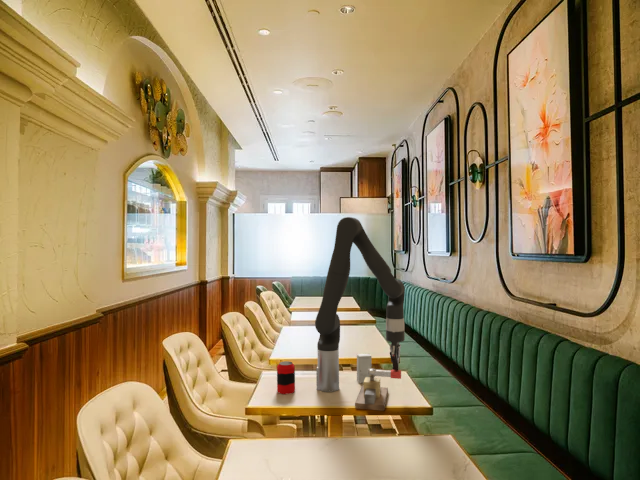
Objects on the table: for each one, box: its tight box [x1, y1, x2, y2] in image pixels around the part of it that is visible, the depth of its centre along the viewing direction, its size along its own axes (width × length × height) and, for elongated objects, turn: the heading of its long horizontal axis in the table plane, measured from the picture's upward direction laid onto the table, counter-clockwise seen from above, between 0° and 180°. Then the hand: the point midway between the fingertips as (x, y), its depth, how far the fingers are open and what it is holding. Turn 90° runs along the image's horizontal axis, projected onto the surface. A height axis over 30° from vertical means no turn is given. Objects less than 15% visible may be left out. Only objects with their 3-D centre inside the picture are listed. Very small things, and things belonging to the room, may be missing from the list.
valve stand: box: [354, 377, 389, 411], centre depth 167 cm, size 11×19×10 cm, turn 166°
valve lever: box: [368, 367, 402, 380], centre depth 166 cm, size 13×3×3 cm, turn 76°
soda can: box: [276, 361, 296, 395], centre depth 177 cm, size 8×8×12 cm
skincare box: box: [356, 353, 373, 384], centre depth 188 cm, size 6×4×12 cm
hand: (395, 371), depth 170 cm, fingers closed
